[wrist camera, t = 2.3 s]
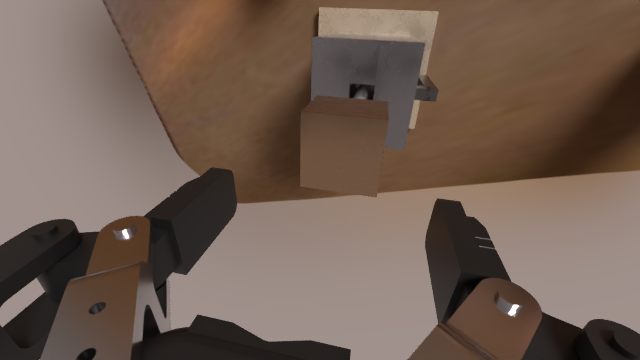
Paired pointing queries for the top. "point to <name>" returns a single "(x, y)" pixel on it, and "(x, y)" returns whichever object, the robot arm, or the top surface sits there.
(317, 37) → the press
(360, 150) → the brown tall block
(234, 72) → the top surface
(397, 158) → the top surface
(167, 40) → the top surface
